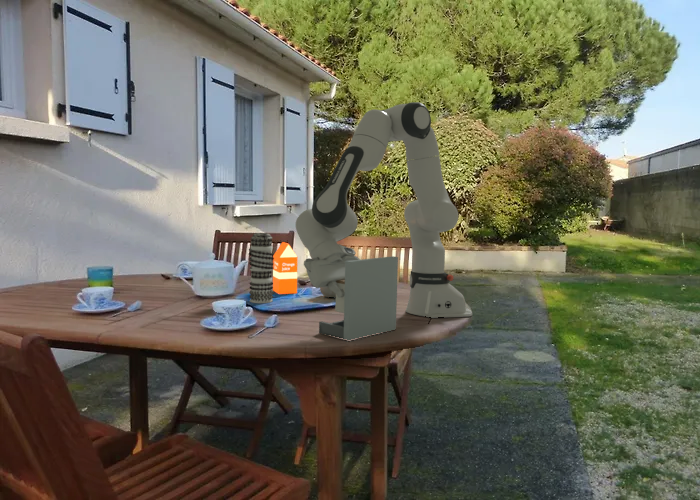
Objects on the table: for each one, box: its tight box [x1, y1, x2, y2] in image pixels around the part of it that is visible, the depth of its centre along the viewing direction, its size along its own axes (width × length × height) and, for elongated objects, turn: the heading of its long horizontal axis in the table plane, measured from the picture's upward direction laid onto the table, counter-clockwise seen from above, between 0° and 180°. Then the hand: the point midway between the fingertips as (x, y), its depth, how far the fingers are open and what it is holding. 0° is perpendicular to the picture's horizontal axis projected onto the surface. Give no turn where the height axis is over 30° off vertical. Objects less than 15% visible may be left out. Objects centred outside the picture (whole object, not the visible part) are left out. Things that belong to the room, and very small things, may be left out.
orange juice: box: [272, 241, 298, 295], centre depth 226 cm, size 8×9×20 cm
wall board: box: [318, 255, 399, 340], centre depth 163 cm, size 20×12×22 cm, turn 136°
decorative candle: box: [248, 232, 275, 304], centre depth 206 cm, size 9×9×25 cm
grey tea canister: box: [334, 280, 345, 314], centre depth 160 cm, size 6×6×9 cm
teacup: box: [319, 287, 336, 298], centre depth 217 cm, size 14×11×8 cm
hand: (351, 294), depth 159 cm, fingers closed on grey tea canister, 5 cm apart
